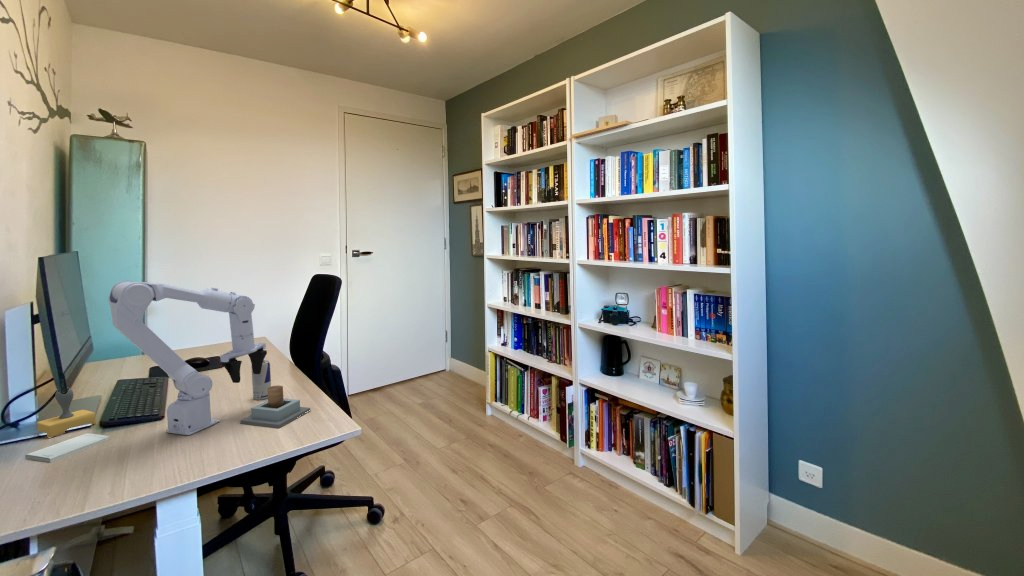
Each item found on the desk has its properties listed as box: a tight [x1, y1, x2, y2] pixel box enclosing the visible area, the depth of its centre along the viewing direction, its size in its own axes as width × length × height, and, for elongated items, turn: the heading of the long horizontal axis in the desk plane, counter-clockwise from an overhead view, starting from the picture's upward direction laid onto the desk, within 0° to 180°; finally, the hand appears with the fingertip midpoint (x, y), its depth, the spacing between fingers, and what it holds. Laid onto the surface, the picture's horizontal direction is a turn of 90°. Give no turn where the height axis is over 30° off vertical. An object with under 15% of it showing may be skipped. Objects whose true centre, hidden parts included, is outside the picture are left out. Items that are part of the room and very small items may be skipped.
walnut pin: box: [267, 385, 284, 409], centre depth 129 cm, size 4×4×8 cm
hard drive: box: [24, 432, 111, 463], centre depth 109 cm, size 2×8×12 cm
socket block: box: [239, 397, 311, 429], centre depth 129 cm, size 13×13×4 cm
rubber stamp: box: [36, 387, 97, 438], centre depth 119 cm, size 10×6×12 cm, turn 159°
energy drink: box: [250, 359, 272, 401], centre depth 145 cm, size 5×5×12 cm
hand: (247, 378), depth 133 cm, fingers open, 7 cm apart
